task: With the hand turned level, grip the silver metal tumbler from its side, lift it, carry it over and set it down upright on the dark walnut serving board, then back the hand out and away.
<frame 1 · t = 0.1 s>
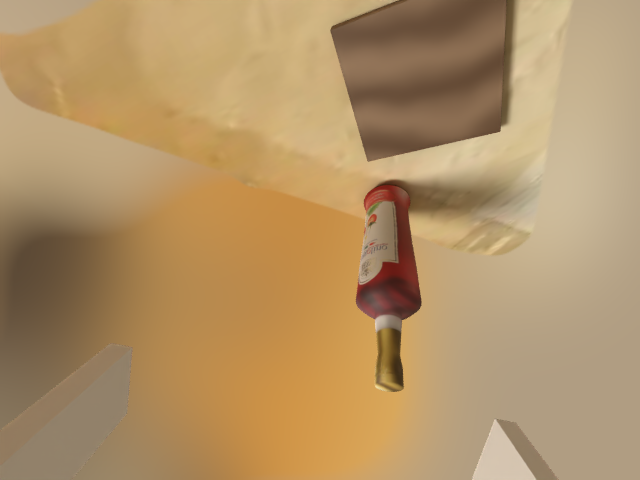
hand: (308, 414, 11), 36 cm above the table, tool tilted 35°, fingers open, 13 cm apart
liquor: (386, 197, 49), on the table
walnut board: (420, 79, 36), on the table
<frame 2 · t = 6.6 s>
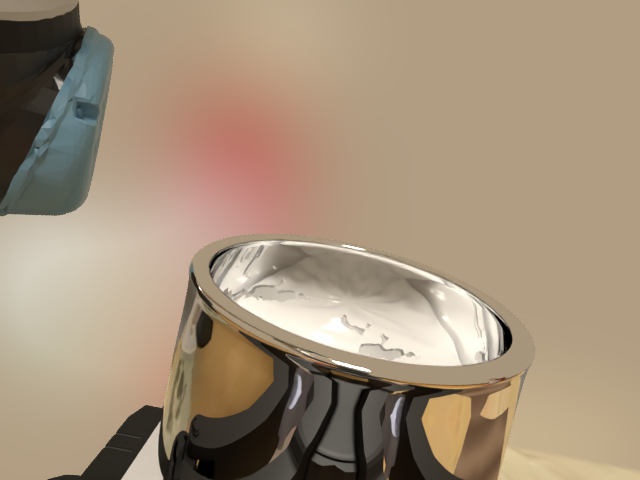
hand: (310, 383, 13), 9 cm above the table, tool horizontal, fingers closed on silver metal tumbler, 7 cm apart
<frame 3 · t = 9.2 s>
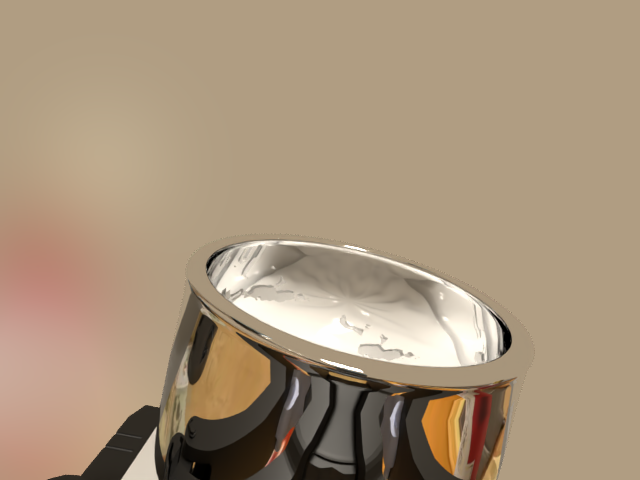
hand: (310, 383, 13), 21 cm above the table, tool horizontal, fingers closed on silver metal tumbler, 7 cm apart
when the fingers open (11 cm above the table, at t = 12.0 s): silver metal tumbler drops 1 cm, resting on walnut board.
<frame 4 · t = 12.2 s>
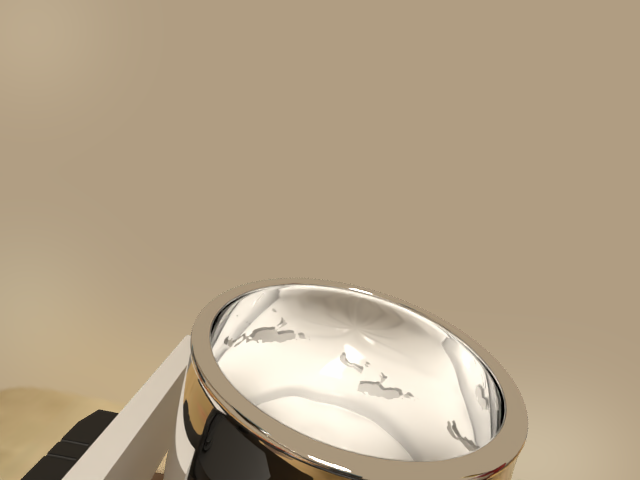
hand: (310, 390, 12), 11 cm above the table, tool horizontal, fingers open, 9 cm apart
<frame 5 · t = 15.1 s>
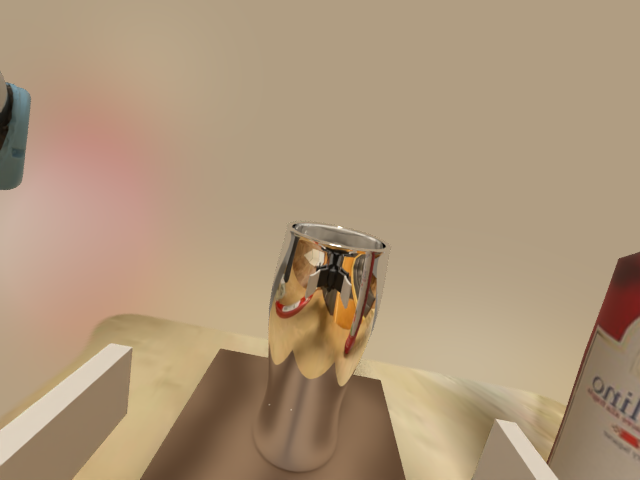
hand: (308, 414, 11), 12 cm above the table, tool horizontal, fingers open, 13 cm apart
silver metal tumbler: (294, 435, 23), point 1 cm above the table, touching walnut board
walnut board: (287, 446, 23), on the table
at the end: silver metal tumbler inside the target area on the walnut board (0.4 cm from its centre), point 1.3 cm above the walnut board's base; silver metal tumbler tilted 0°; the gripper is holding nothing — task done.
